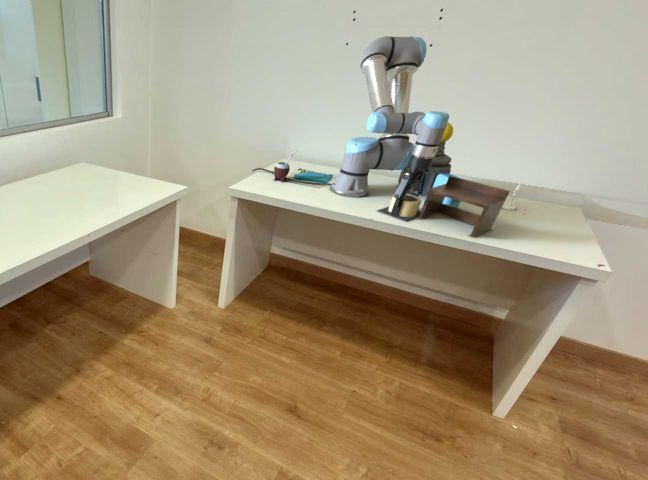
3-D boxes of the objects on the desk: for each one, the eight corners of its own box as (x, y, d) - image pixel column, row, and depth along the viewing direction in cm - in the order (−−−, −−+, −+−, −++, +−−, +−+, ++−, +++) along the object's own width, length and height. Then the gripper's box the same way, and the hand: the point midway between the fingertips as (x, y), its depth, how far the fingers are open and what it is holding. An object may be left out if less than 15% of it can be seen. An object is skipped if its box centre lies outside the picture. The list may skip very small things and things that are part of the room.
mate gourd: (269, 178, 200) (275, 147, 192) (283, 176, 202) (289, 146, 194) (278, 183, 194) (284, 151, 186) (292, 181, 196) (298, 150, 188)
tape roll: (407, 218, 159) (412, 204, 155) (383, 210, 166) (388, 195, 162) (421, 213, 163) (427, 199, 160) (397, 205, 170) (402, 191, 167)
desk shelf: (418, 217, 160) (432, 181, 152) (435, 211, 166) (450, 175, 158) (473, 237, 146) (493, 197, 138) (490, 229, 152) (510, 191, 144)
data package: (457, 210, 168) (469, 181, 161) (447, 210, 167) (459, 182, 161) (436, 199, 178) (448, 172, 171) (427, 199, 177) (438, 172, 171)
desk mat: (377, 211, 166) (377, 210, 166) (397, 204, 172) (397, 203, 172) (406, 221, 157) (406, 220, 157) (425, 214, 164) (426, 213, 163)
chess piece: (512, 206, 172) (524, 183, 166) (516, 210, 168) (529, 187, 162) (498, 204, 173) (510, 182, 168) (502, 209, 169) (514, 185, 164)
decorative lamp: (386, 184, 194) (409, 118, 178) (418, 181, 199) (442, 116, 182) (418, 198, 179) (446, 127, 163) (452, 194, 183) (482, 125, 167)
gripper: (416, 162, 145) (395, 220, 157) (448, 154, 155) (426, 209, 167) (395, 157, 150) (376, 213, 162) (428, 150, 160) (408, 203, 172)
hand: (402, 211), depth 164 cm, fingers closed on tape roll, 10 cm apart
